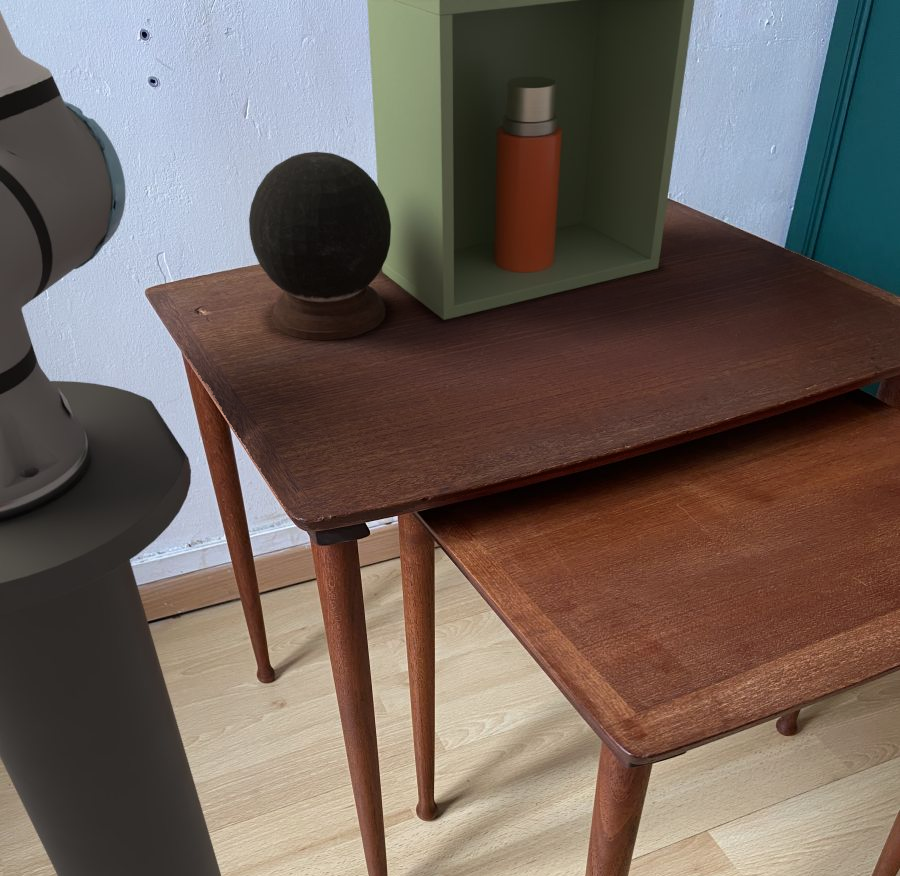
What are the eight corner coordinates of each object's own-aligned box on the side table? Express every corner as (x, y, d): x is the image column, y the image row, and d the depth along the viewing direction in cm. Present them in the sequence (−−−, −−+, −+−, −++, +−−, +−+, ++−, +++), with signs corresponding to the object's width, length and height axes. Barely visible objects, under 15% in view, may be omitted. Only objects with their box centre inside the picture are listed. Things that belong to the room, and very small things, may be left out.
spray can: (498, 274, 99) (503, 91, 88) (489, 251, 104) (493, 75, 93) (559, 271, 99) (571, 88, 88) (547, 248, 104) (557, 73, 93)
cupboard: (658, 268, 103) (698, -29, 85) (443, 320, 93) (439, -2, 76) (584, 229, 112) (606, -46, 95) (382, 272, 103) (365, -25, 85)
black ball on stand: (418, 325, 92) (413, 162, 83) (291, 356, 88) (270, 187, 78) (361, 279, 101) (350, 126, 91) (243, 305, 96) (218, 147, 87)
